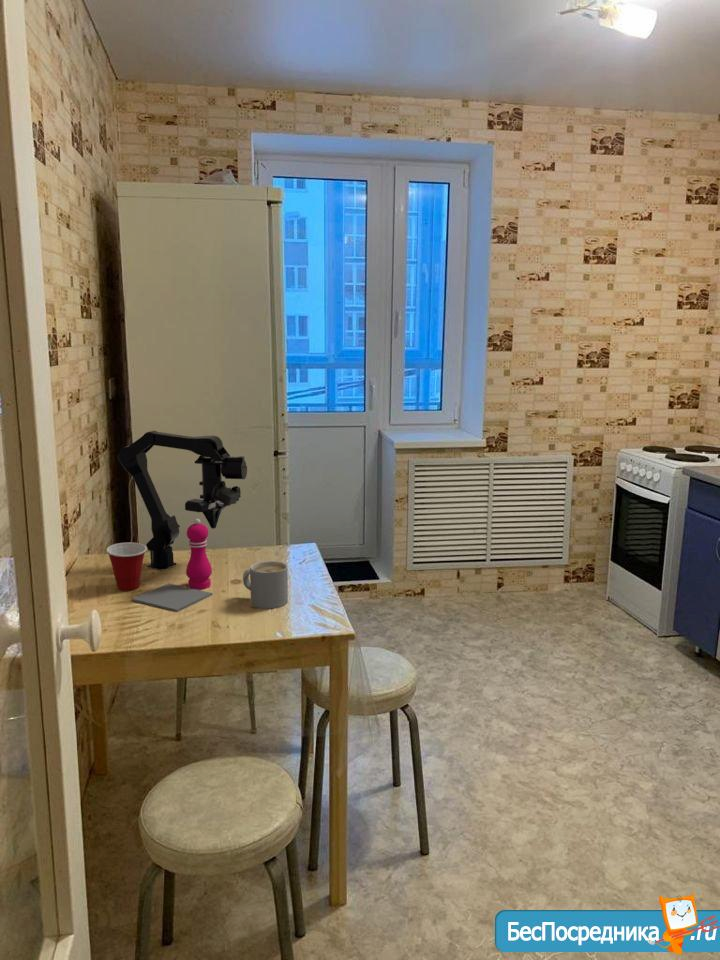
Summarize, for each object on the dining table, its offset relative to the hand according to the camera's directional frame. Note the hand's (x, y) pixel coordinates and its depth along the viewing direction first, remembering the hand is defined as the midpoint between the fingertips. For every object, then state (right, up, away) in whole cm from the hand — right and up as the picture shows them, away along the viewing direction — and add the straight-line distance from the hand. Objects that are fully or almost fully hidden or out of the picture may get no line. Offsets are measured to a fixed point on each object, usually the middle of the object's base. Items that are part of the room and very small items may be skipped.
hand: (213, 528), depth 213 cm
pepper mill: (-1, -16, -12) cm, 20 cm away
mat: (-7, -18, -22) cm, 29 cm away
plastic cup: (-21, -16, -14) cm, 30 cm away
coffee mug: (+19, -18, -23) cm, 35 cm away
